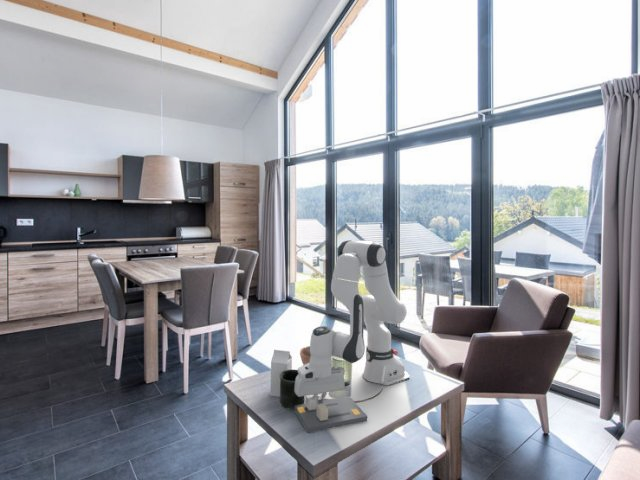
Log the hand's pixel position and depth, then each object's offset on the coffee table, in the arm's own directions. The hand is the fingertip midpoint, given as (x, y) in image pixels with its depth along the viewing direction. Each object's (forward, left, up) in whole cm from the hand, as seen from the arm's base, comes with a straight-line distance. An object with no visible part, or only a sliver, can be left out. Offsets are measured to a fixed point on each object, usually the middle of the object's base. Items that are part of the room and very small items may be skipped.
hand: (319, 402), depth 148 cm
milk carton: (+10, -19, -4) cm, 22 cm away
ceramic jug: (-7, -26, -4) cm, 27 cm away
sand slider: (+2, +8, -2) cm, 8 cm away
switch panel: (-3, +4, -4) cm, 6 cm away
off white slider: (+4, 0, -2) cm, 4 cm away
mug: (+8, -11, -4) cm, 14 cm away
